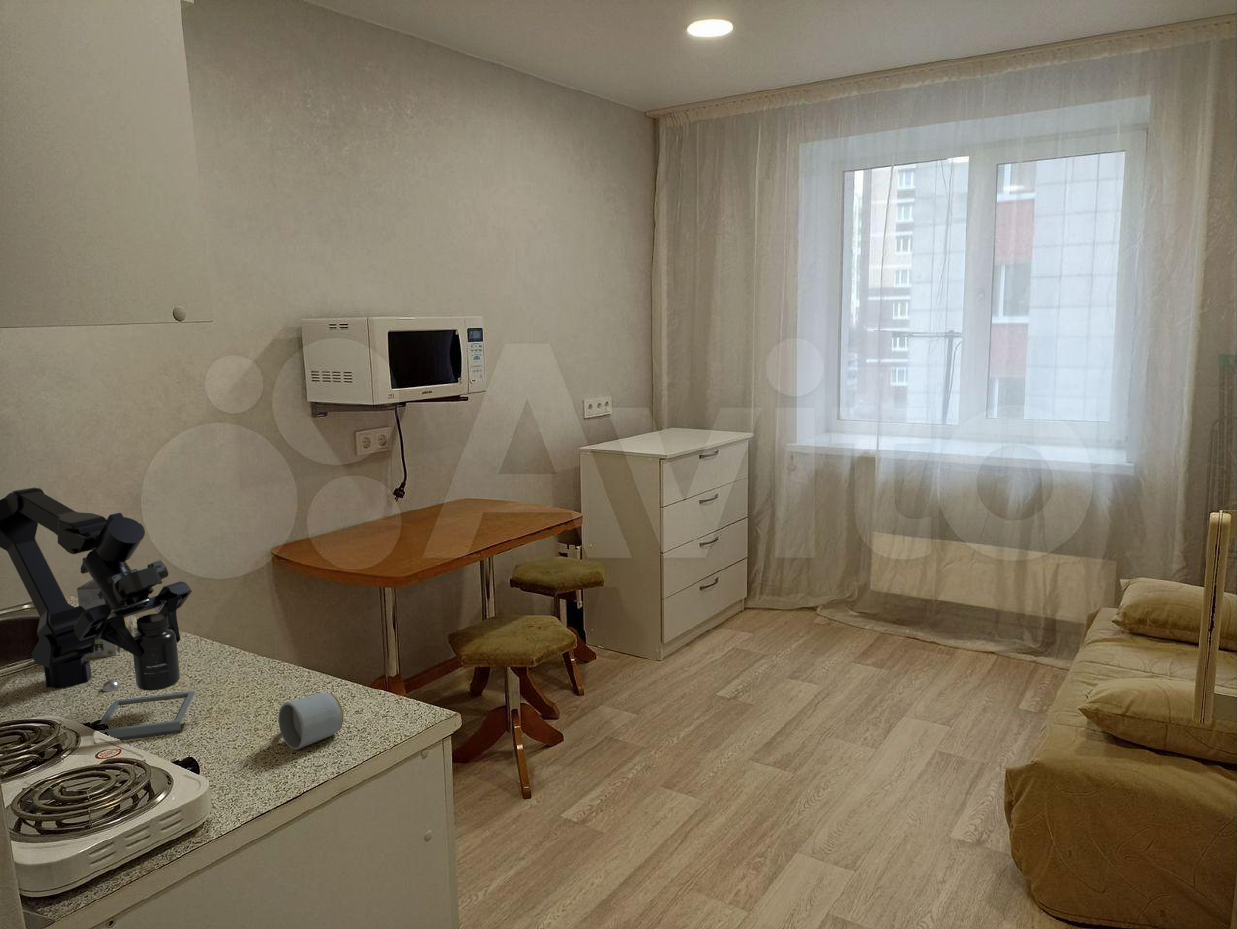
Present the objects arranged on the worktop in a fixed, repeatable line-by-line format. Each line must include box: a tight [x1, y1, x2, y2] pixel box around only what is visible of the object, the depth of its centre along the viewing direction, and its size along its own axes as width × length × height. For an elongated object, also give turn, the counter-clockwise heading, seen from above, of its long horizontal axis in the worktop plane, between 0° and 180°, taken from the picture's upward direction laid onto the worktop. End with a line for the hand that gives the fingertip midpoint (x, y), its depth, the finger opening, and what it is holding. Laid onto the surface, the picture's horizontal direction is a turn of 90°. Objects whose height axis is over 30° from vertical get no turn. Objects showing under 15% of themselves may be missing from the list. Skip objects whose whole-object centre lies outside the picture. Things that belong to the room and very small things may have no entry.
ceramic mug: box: [277, 692, 345, 751], centre depth 146 cm, size 11×8×8 cm
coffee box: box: [76, 579, 136, 659], centre depth 183 cm, size 9×6×16 cm
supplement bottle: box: [132, 613, 181, 692], centre depth 152 cm, size 7×7×12 cm
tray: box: [99, 690, 196, 741], centre depth 153 cm, size 13×13×2 cm
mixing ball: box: [102, 679, 122, 693], centre depth 164 cm, size 3×3×3 cm
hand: (159, 648), depth 151 cm, fingers closed on supplement bottle, 7 cm apart
